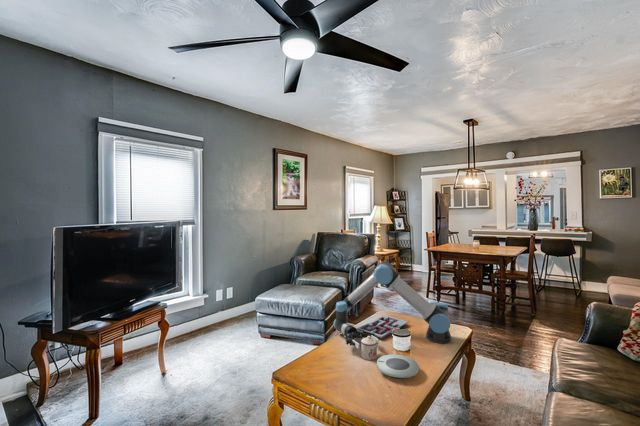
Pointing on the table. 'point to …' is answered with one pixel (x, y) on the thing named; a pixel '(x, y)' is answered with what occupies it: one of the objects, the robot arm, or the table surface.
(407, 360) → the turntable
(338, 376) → the table surface
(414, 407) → the table surface
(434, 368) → the table surface
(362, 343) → the teacup with lid
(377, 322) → the maze game
